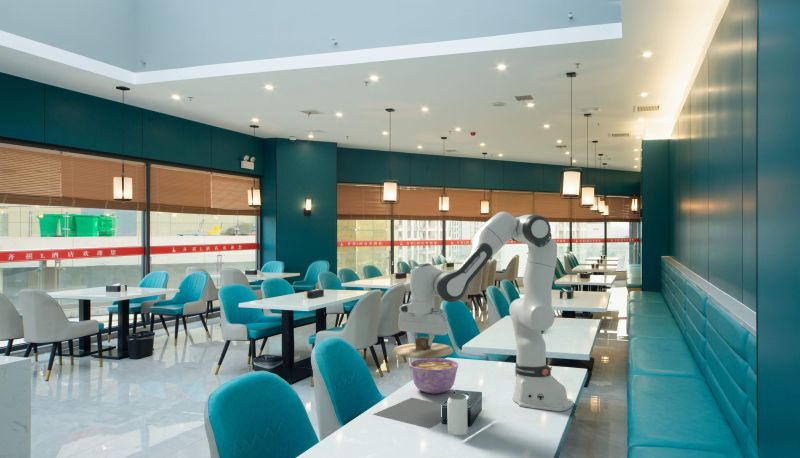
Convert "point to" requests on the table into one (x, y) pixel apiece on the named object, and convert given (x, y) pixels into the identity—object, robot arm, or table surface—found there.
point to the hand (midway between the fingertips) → (423, 344)
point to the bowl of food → (433, 374)
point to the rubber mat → (414, 412)
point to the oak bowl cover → (423, 349)
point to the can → (457, 414)
